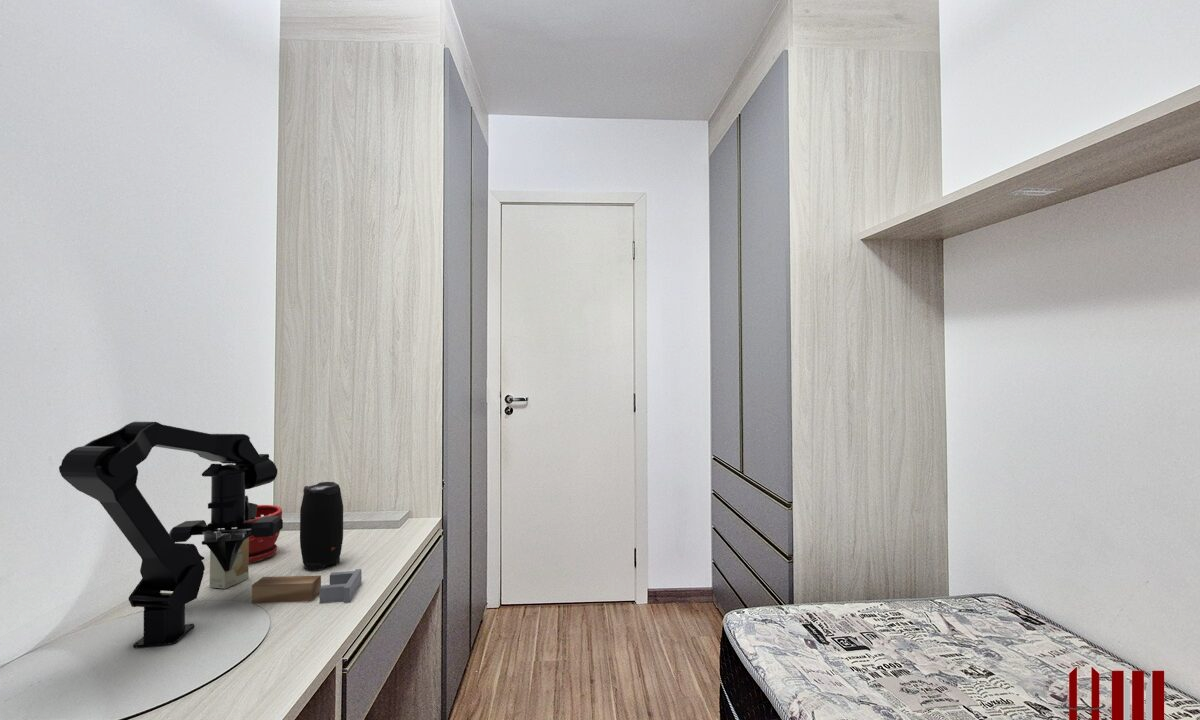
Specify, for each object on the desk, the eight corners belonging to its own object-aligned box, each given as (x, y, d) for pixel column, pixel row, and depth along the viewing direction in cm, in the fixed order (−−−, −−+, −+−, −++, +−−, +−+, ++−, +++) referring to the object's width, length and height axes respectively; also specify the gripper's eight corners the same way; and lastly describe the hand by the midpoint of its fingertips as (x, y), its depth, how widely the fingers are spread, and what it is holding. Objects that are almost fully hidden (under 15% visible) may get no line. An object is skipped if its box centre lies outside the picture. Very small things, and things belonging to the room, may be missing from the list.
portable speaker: (346, 565, 127) (346, 485, 127) (302, 575, 122) (302, 491, 122) (338, 555, 134) (339, 479, 134) (297, 564, 128) (297, 484, 128)
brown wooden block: (311, 602, 108) (311, 583, 108) (251, 604, 108) (251, 584, 108) (320, 594, 112) (320, 575, 112) (263, 595, 112) (263, 577, 112)
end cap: (349, 602, 108) (349, 587, 108) (318, 604, 107) (318, 590, 107) (361, 582, 118) (361, 568, 118) (332, 584, 116) (332, 571, 116)
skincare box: (225, 589, 114) (225, 533, 114) (208, 588, 115) (208, 532, 115) (250, 578, 120) (250, 524, 120) (234, 576, 121) (234, 523, 121)
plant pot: (208, 570, 125) (209, 519, 125) (235, 550, 138) (235, 505, 138) (269, 565, 128) (269, 516, 128) (289, 547, 140) (289, 502, 141)
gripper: (292, 483, 118) (292, 553, 117) (198, 488, 114) (197, 559, 114) (272, 495, 107) (271, 572, 106) (167, 500, 103) (166, 580, 103)
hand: (227, 570), depth 108 cm, fingers closed
